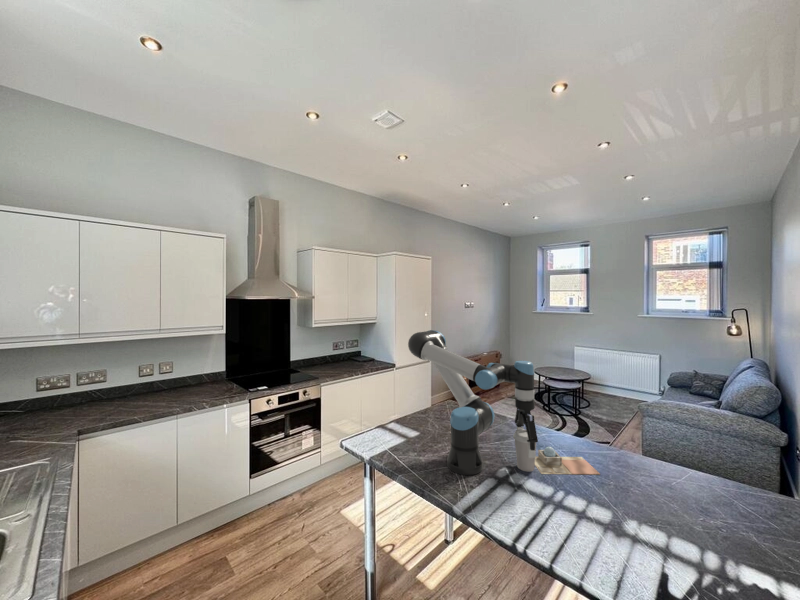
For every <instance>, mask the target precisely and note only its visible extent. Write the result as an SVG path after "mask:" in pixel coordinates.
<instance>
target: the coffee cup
mask: <svg viewBox="0 0 800 600" xmlns="http://www.w3.org/2000/svg"><path fill="white" fill-rule="evenodd" d="M512 437H513V439H514V446H515V455H516V456H515V457H516V467H517V469H519V470H521V471H522V472H528V473H529V472H533V471H534V470H535V467H536V466H535V458H529V457H528V442H527V440H529V439H528V435H527V431H526V428H525V429H524V428H523V429H519V430H517V429H516V430H515V431H514V433H513V435H512ZM535 450H537V442H535Z"/></svg>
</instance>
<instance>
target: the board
mask: <svg viewBox="0 0 800 600" xmlns="http://www.w3.org/2000/svg"><path fill="white" fill-rule="evenodd" d="M554 451H555V457H546V456H545V455H544V449H538V451H537V452H538V453H537V454H538V455H536V458H535V466H534V467H536V468H537V470H538V472H539V473H540V474H541V475H577V476H578V475H580V476H581V475H586V476H589V475H590V476H594V475H595V476H600V475H601V473H600V472H599V471H598V470H597V469H596V468H594V466H592V465H591V464H590V462H588V461H587V460H586V459H585V458H584V457H582V456H560V454H559V453H558V452H557V451H556V450H555V449H554Z"/></svg>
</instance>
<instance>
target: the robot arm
mask: <svg viewBox="0 0 800 600" xmlns="http://www.w3.org/2000/svg"><path fill="white" fill-rule="evenodd" d="M446 344H447V341H446V338H445V335H443V333H442V332H440V331H438V330H432V329H431V330H427V331H425V330H424V331H419V332H418V331H417V332H415V333H413V334H412V335H411V336H410V337H409V339H408V344H407V345H408V350H409V352H410V353H411V354H412V355H414V357H416V358H418V359H420V360H423V361H429V362H431V363H432V364H433V365H434V367H435V368H436V370H437V371H438V373H439V374H440V376H441V378H442V380H443V381H444V383H445V384H446V385H447V387H448V389H449V390H450V392H451V393H452V395H453V397H454V399H455V400H456V402H457V403H458V405H459V406H458V407H456V408H455V409H453V410H452V411H451V413H450V418H449V423H450V449H449V452H448V455H447V457H446V465H447V468H448V469H449V470H450V471H452V472H453V473H456V474H459V475H462V476H463V475H464V476H472V475H476V474H479V473H481V472H482V471H483V468H484V460H483V457H482V455H481V452H480V449H479V436H480V435H481V434H482V433H484V432H485V431H487V430H488V429H490V428H491V426H492V425H493V424H494V421H495V411H494V409H493V407H492V406H491V405H490V404H489V403H488V402H485V401H484V400H483V399H482V398H481V397H480V396H479V395H476V394H475V393H474V392H473V391H472V389H471V387H470V386H469V385H468V383H467V381H466V380H465V378H466V379H468V380H471V381H472V382H475V384H476V386H478V387H479V388H480V389H482V390H490V389H493V388H495V387H496V386H497V385H499V384H501V383H503V382H504V383H510V384H514V397H515V399H514V401H515V403H514V404H515V405H514V406H515V408H516V410H515V411H516V412H515V418H514V423H515V426H516V430H519V429H524V426H525V430H526V431H527V435H528V439H529V440H527V442H528V457H529V458H536V456H537V455H536V452H537V451H536V450H537V449H536V450H535V442H536V443H539V441H538V440H539V439H538V434H537V428H536V424H535V423H536V422H535V415H534V414H533V415H532V412H531V411H533V410H535V408H536V407H535V393H536V390H535V371H534V370H535V369H534V363H533V362H532V361H529V360H516V361H514V364H505V363H500V362H499V363H498V362H489V363H488V364H487V365H486V366H485V365H482V364H480V363H478V362H476V361H473V360H471V359H468V358H467V357H465V356H462V355H460V354H457V353H455V352H452V351H449V350H448V347H447V345H446Z"/></svg>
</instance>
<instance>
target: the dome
mask: <svg viewBox="0 0 800 600" xmlns="http://www.w3.org/2000/svg"><path fill="white" fill-rule="evenodd" d="M543 450H544V455H545V456H546V457H555V451H556V450H555V449H554V448H553V447H552V446H546V447H545V448H544V449H543ZM554 450H555V451H554Z"/></svg>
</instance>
